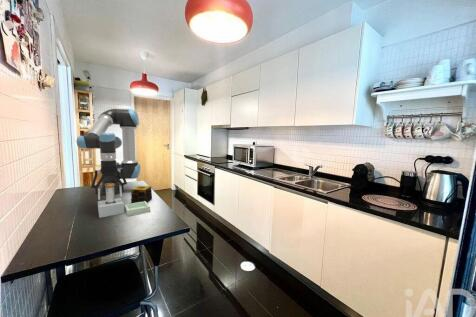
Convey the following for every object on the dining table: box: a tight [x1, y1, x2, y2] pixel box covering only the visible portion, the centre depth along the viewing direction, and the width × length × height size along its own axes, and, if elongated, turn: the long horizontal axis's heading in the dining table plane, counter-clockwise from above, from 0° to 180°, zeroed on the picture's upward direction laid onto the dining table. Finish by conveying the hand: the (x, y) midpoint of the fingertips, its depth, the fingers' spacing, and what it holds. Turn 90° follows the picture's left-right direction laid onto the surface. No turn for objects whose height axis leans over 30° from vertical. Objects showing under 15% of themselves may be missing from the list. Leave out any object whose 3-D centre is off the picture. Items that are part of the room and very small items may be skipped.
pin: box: [105, 183, 115, 204], centre depth 118 cm, size 5×5×17 cm
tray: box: [124, 201, 151, 217], centre depth 122 cm, size 12×12×3 cm
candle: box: [130, 185, 153, 204], centre depth 138 cm, size 10×10×10 cm
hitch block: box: [97, 197, 125, 219], centre depth 118 cm, size 12×12×6 cm
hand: (110, 197), depth 118 cm, fingers open, 10 cm apart
